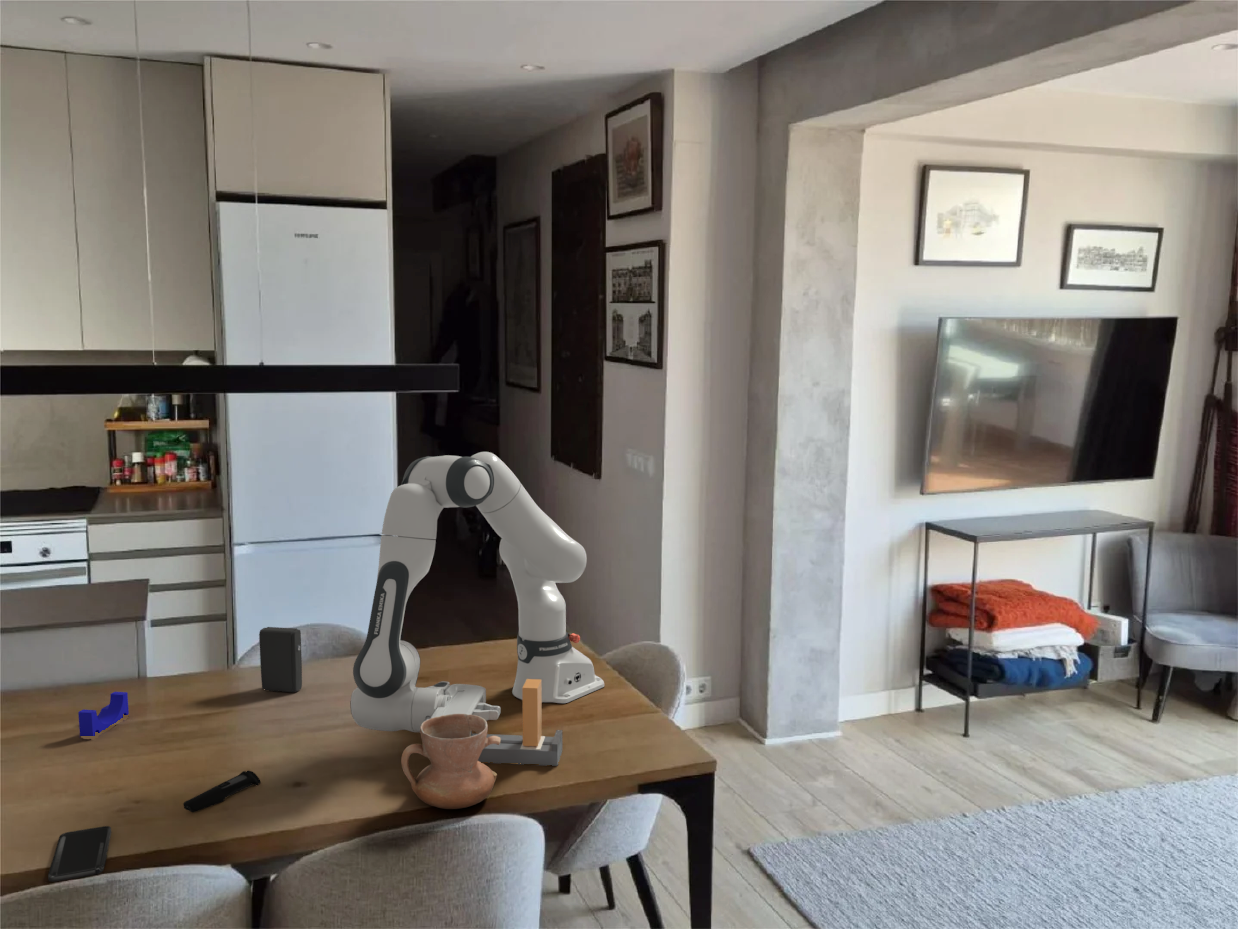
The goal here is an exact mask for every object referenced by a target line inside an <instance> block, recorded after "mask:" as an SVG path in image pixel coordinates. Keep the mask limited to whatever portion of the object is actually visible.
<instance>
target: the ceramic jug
mask: <svg viewBox="0 0 1238 929" xmlns="http://www.w3.org/2000/svg"><path fill="white" fill-rule="evenodd" d="M488 727H489V726H488V722H487V720H485V719H483V718H481V717H479V716H476V715H471V714H469V715H468V714H449V715H443V716H440V717H434V718H431V719H429V720H426V721H424V722H423V723H422V724H421V726H420V732H419V733H420V738H421V742H422V744H419V743H412V744H410V745H408V746H406V748H405V749H404V750H403V751H402V754H401V758H400V760H401V768H402V770H403V773H404V775H405V776H406V778H407V780H408V781H409V782H410V784H411V785H410V786H411V790H412V792H414V793H415V795H416V796H417V797H418V798H419V799H420V800H421V801H422V802H424V803H425V804H426V805H429V806H431V807H435V808H436V809H437V808H439V809H441V810H443V809H444V810H458V809H465V808H468V807H472V806H474V805H477V804H479V803H481V802H483V801H484V800H485V799H486V798H487V797H489V796H490V794H491V793H492V791H493V788H494V785H495V782H496V779H497V777H498V774H497V773H496V772H495V771H493V770H492V768H490V767H489V766H487V765H486V763H481V762H479V761H478V759H479V757H480V754H481V752H482V750H483V749H484V748H485V747H487V746H488V745H490V744H497V745H499V744H500V741H501V739H500V737H498V736H490V737H488V738H486V737H487V734H488ZM471 731H472V732H475V733H476V734H478V735H474V736H471ZM412 754H419V755H421V756H424V757H425V758H427V759H429V761H430V764H429V765H427V766H426V767H424V768H423V769H422V770H421V771H420V772H419V773H418V775H417V776H416V777H415V776H414V774H413V772H412V770H411V767H410V757H411V755H412Z"/></svg>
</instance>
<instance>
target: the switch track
mask: <svg viewBox="0 0 1238 929" xmlns="http://www.w3.org/2000/svg"><path fill="white" fill-rule="evenodd" d="M474 735H478V733H473V731H471V736H474ZM490 736H498V737H500V739H501V741H500V744H499V745H497V744H490V745H488V746H487V747H485V748H484V749H483V750H482V752H481V754H480V757H479V759H478V761H479V762H488V763H487V764H491V763H490V762H493V763H492V764H501V763H518V764H517V765H524V764H539V765H538V766H547V765H552V766H551V767H558V765H559V763H558V762H560V760H561V757H560V756H562V754H563V730H562V729H556V730H555V733H554V736H545V735H542V736H541V739H540V741H539V744H538V746H523V735H520V734H519V735H518V734H517V735H516V734H494V733H493V734H491V733H490V734H489V733H487V737H486V738H488V737H490ZM520 763H521V764H520Z"/></svg>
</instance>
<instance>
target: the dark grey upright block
mask: <svg viewBox="0 0 1238 929" xmlns="http://www.w3.org/2000/svg"><path fill="white" fill-rule="evenodd" d="M259 630H260V631H259V634H258V636H259V638H258V640H259V659H260V676H261V678H260V679H261V688H262V690H264V689H265V690H264V691H266V690H269V691H268V692H278V691H282V692H281V693H296V692H299V691H300V690H301V689H302V687H303V667H302V666H303V663H302V661H303V660H302V658H303V656H302V635H301V634H302V633H301V629H298V628H294V627H293V628H291V627H277V626H276V627H275V626H266V627H263V628H261V629H259Z"/></svg>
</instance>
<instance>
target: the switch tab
mask: <svg viewBox="0 0 1238 929" xmlns="http://www.w3.org/2000/svg"><path fill="white" fill-rule="evenodd" d="M521 702H522V736H523V746H538V744H539V741H540V739H541V736H543V734H542V729H543V728H542V727H543V725H542V724H543V723H542V718H543V717H542V716H543V715H542V713H543V712H542V707H543V706H542V703H543V702H542V687H541V679H527V680H526V682H525V684H524V686H523V688H522V699H521Z"/></svg>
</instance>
